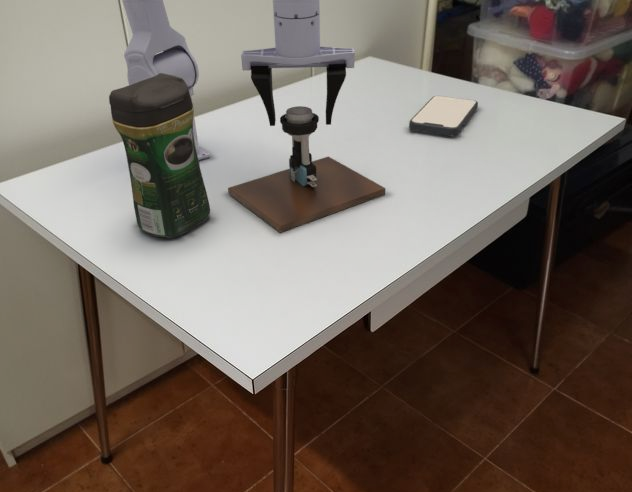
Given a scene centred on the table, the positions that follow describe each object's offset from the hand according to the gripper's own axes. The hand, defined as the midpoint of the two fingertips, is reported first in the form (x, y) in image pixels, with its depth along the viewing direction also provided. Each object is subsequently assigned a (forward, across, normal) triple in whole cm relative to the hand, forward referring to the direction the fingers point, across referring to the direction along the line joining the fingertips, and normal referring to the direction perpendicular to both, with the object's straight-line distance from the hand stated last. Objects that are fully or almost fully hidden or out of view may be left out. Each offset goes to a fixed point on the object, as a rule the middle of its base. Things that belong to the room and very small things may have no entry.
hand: (300, 122), depth 86 cm
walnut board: (+9, 0, +3) cm, 10 cm away
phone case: (+10, -25, -25) cm, 37 cm away
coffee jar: (+10, +17, +10) cm, 22 cm away
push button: (+9, 0, 0) cm, 9 cm away
